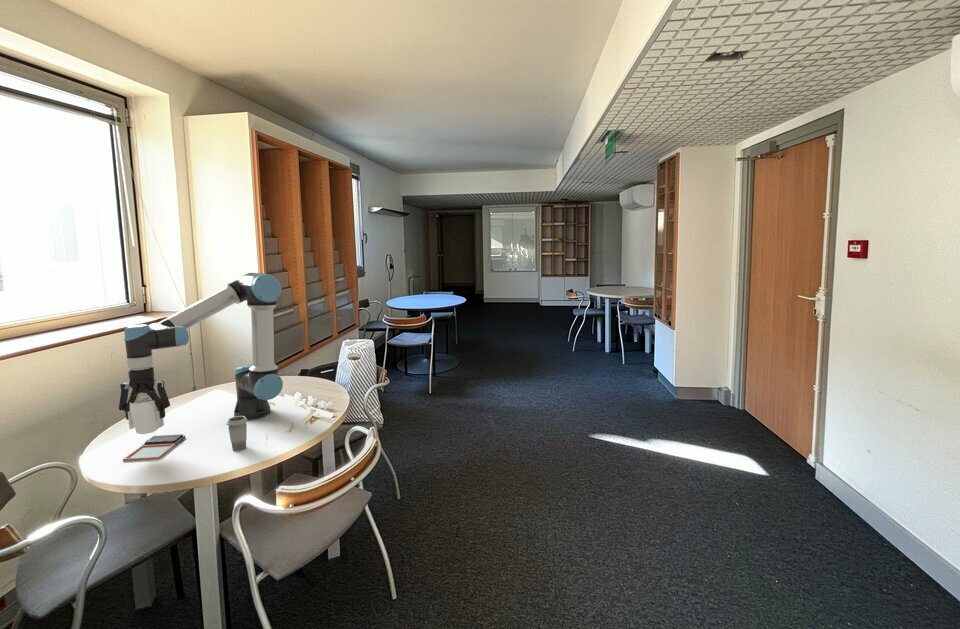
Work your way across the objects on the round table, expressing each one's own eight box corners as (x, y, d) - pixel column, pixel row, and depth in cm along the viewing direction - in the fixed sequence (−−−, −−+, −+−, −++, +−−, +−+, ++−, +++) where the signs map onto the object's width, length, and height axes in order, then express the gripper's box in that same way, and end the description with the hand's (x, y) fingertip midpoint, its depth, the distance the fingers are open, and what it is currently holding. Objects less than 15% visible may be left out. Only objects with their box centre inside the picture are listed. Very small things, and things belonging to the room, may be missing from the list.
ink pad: (185, 438, 192) (185, 433, 192) (176, 445, 185) (175, 441, 185) (153, 439, 191) (152, 435, 191) (142, 447, 183) (142, 443, 183)
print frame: (175, 445, 185) (175, 443, 185) (159, 459, 173) (158, 457, 173) (142, 447, 183) (142, 445, 183) (123, 461, 171) (122, 459, 171)
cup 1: (146, 436, 171) (143, 404, 170) (125, 434, 173) (122, 402, 171) (167, 427, 180) (164, 396, 178) (147, 425, 182) (144, 395, 180)
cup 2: (235, 454, 177) (232, 423, 175) (225, 450, 181) (222, 419, 179) (253, 447, 183) (251, 417, 181) (243, 443, 187) (240, 414, 185)
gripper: (177, 364, 178) (183, 422, 181) (114, 366, 176) (121, 424, 179) (167, 369, 171) (173, 429, 174) (101, 371, 168) (108, 432, 171)
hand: (146, 427), depth 176 cm, fingers closed on cup 1, 9 cm apart
